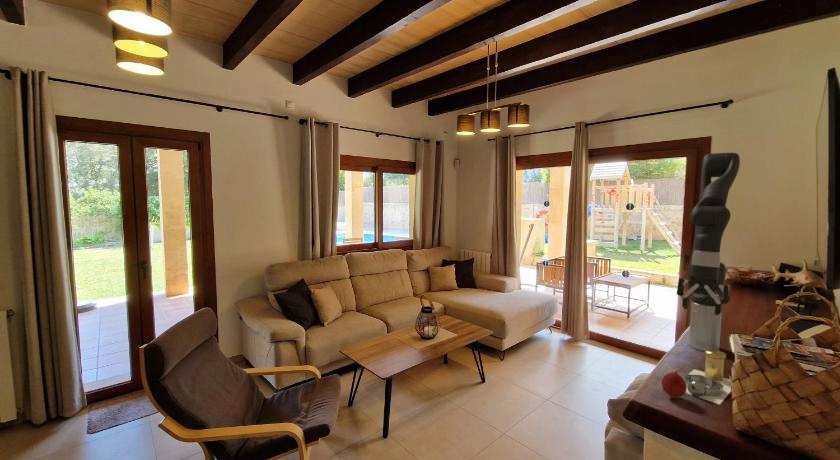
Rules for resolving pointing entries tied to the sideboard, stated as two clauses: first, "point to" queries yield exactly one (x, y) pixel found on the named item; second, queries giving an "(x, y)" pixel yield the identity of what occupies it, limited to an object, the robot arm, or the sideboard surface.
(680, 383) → the onion
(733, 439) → the sideboard surface
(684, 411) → the sideboard surface
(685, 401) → the sideboard surface
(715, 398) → the board
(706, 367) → the knob
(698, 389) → the grey octagonal ring
